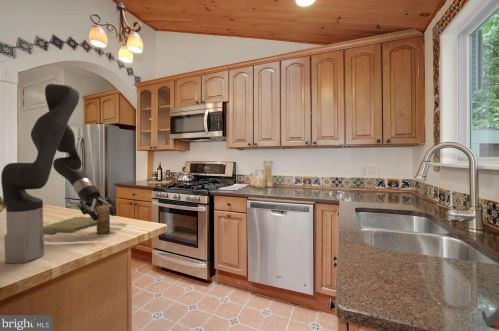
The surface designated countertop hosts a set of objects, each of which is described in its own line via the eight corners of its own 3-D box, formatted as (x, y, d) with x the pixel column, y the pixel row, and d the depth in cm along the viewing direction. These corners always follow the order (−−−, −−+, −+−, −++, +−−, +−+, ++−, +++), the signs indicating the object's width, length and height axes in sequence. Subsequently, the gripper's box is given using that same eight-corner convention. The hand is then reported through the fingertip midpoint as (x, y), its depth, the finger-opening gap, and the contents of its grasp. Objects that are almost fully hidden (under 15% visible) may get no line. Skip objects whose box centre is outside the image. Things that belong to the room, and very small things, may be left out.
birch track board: (112, 237, 102) (112, 235, 102) (85, 238, 100) (85, 236, 100) (129, 224, 120) (129, 222, 120) (106, 225, 119) (106, 223, 119)
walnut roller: (106, 234, 103) (106, 207, 102) (94, 234, 102) (94, 207, 101) (111, 230, 108) (111, 205, 107) (100, 230, 107) (99, 205, 106)
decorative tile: (38, 234, 106) (38, 226, 105) (75, 221, 126) (75, 215, 125) (75, 236, 104) (75, 228, 104) (107, 223, 124) (107, 216, 123)
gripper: (74, 186, 99) (95, 215, 96) (104, 183, 113) (123, 208, 110) (66, 198, 101) (86, 226, 98) (96, 193, 115) (114, 218, 112)
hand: (105, 217), depth 104 cm, fingers open, 8 cm apart
